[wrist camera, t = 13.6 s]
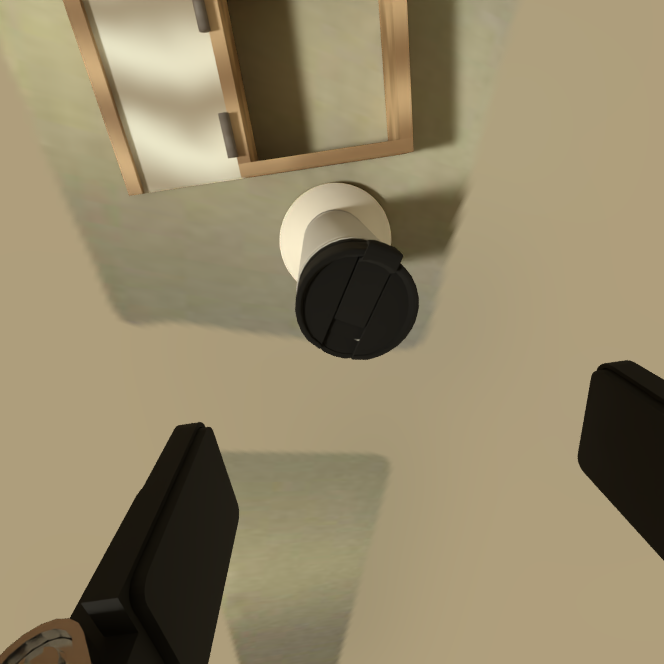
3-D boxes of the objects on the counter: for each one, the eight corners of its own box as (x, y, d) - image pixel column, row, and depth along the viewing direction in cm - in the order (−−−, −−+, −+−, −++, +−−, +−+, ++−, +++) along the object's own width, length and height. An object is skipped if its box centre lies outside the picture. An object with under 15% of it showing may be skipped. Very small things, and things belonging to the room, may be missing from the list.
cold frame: (71, 5, 29) (16, -33, 23) (388, -45, 28) (405, -96, 23) (134, 194, 34) (101, 198, 29) (399, 154, 34) (416, 150, 29)
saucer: (270, 191, 35) (269, 192, 34) (385, 174, 34) (386, 174, 34) (291, 301, 39) (290, 303, 38) (393, 285, 39) (394, 288, 38)
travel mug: (378, 220, 35) (449, 270, 17) (352, 282, 38) (390, 385, 19) (317, 195, 34) (322, 220, 16) (294, 261, 36) (276, 349, 18)
